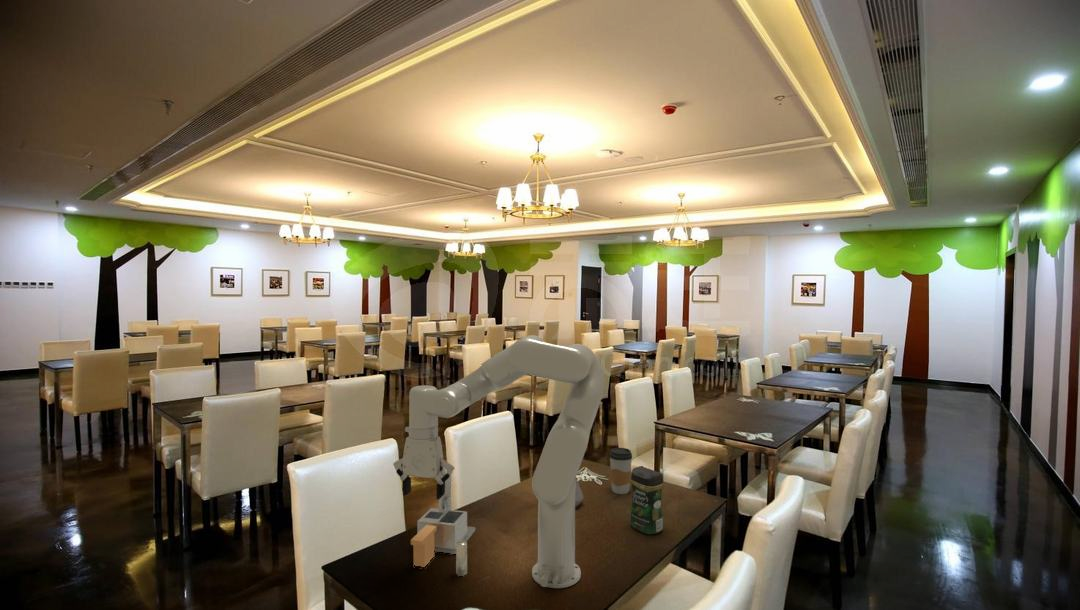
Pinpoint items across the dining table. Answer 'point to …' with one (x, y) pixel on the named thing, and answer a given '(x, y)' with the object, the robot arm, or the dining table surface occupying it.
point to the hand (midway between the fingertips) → (423, 495)
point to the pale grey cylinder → (461, 558)
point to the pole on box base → (446, 523)
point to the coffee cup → (620, 470)
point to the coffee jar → (646, 500)
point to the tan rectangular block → (423, 545)
